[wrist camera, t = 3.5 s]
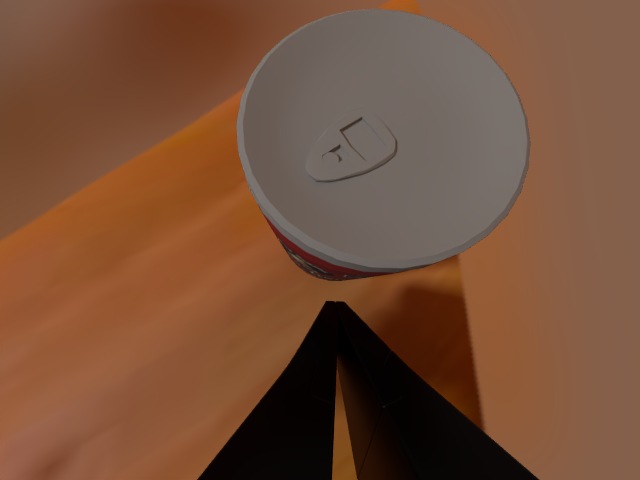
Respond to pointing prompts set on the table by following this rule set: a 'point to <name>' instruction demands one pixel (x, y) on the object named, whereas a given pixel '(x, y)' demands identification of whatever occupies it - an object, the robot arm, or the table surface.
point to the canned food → (380, 143)
